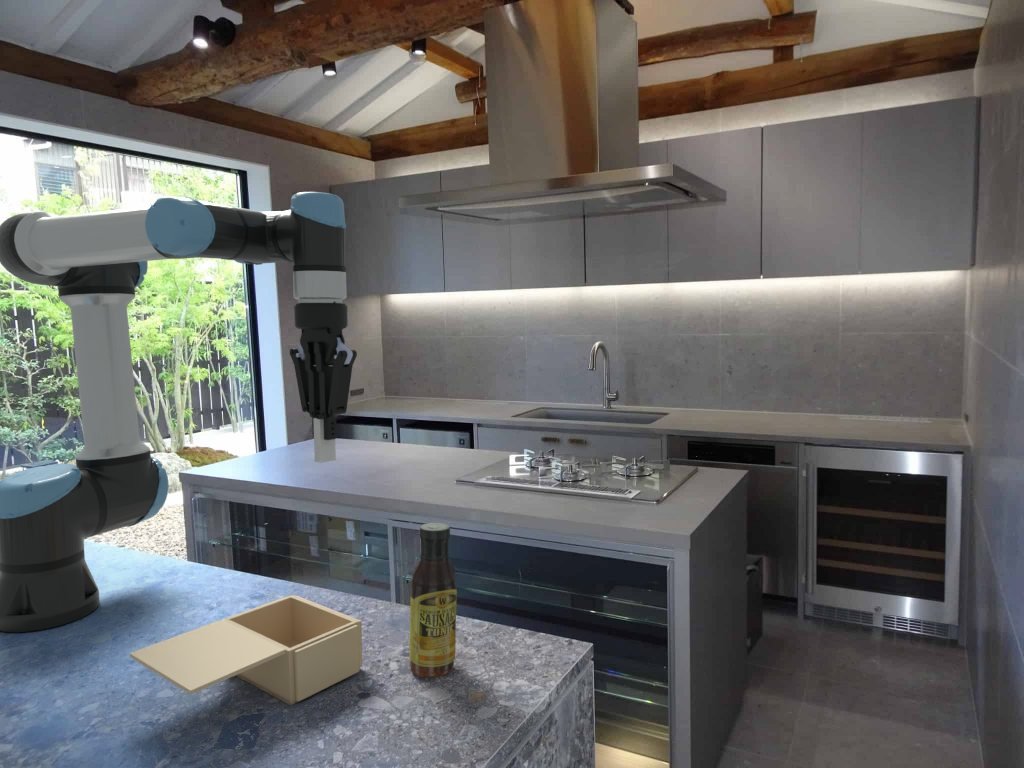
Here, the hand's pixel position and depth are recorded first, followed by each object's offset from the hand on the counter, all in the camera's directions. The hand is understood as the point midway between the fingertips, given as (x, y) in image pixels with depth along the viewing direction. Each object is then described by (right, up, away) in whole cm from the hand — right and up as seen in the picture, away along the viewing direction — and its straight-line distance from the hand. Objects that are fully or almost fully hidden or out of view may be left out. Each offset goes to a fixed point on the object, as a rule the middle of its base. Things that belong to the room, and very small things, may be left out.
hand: (325, 460), depth 108 cm
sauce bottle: (+17, -28, -10) cm, 34 cm away
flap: (-5, -21, -15) cm, 26 cm away
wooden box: (-2, -27, -10) cm, 29 cm away
